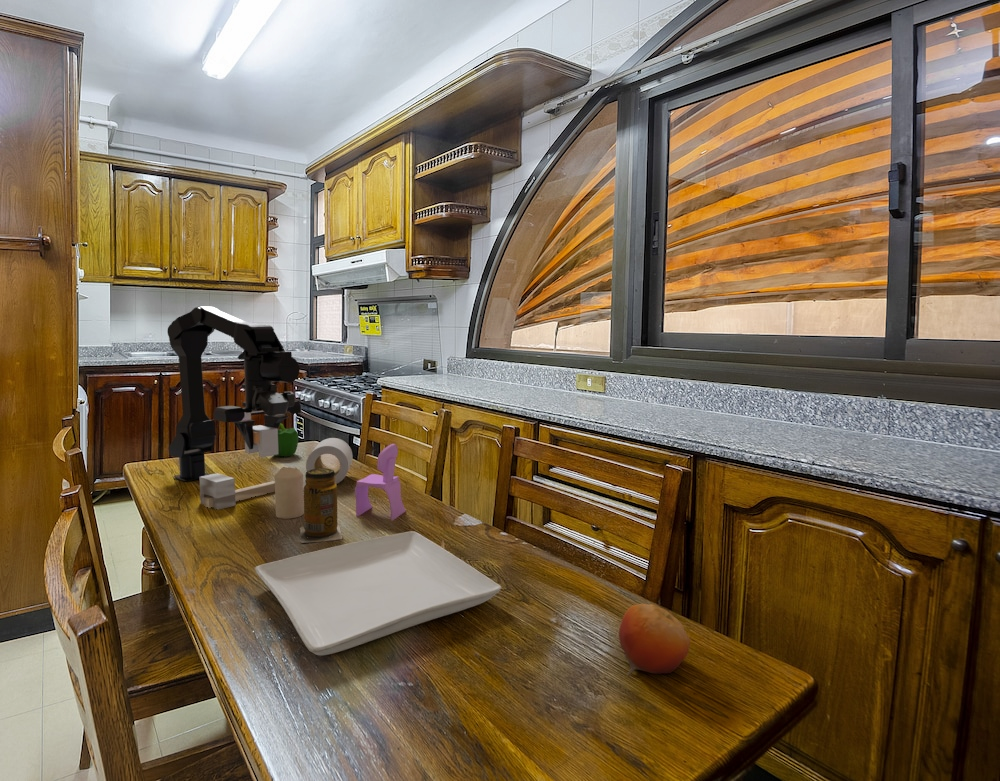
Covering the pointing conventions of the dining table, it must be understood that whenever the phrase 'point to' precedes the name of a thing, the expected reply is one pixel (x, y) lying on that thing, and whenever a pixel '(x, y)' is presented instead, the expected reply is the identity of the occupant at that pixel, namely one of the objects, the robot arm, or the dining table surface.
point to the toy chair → (381, 484)
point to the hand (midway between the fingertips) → (260, 447)
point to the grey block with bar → (246, 493)
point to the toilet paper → (334, 448)
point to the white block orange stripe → (264, 441)
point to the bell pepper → (287, 441)
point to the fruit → (652, 639)
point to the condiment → (320, 507)
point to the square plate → (372, 589)
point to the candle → (289, 493)
